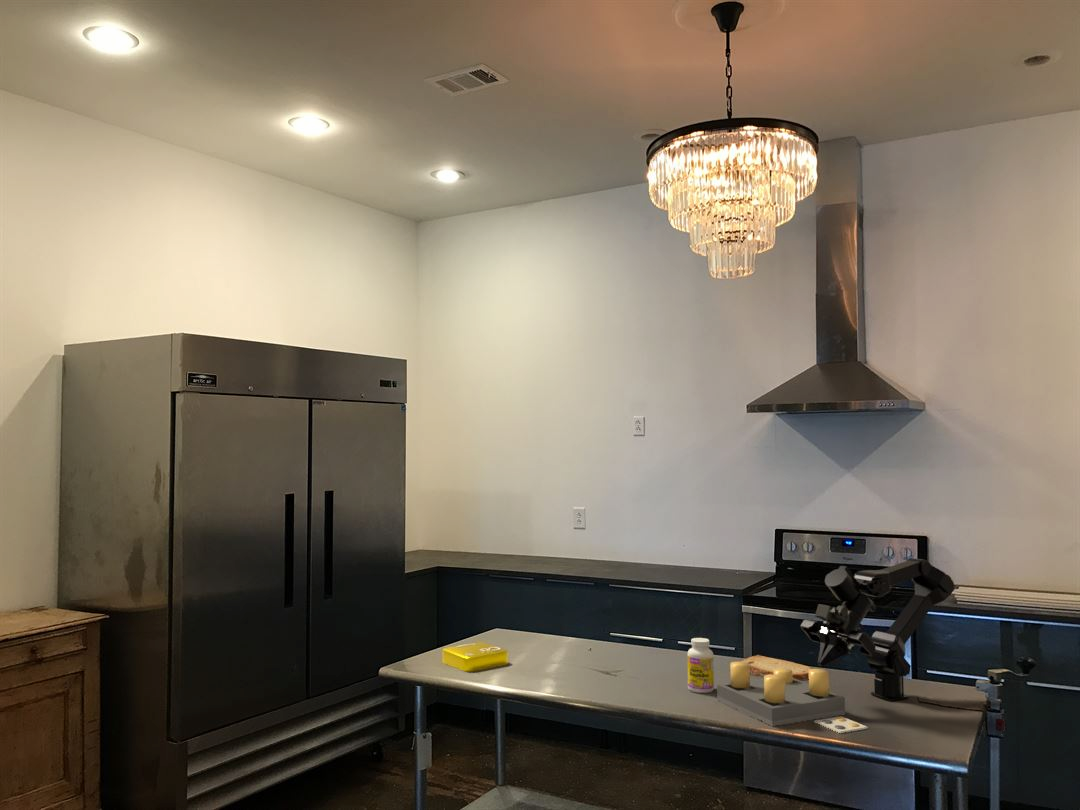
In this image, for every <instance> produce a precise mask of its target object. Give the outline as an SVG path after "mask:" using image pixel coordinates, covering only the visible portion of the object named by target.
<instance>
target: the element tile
mask: <svg viewBox="0 0 1080 810" xmlns="http://www.w3.org/2000/svg"><path fill="white" fill-rule="evenodd" d="M508 660H509V652H508V649H505V648H504V647H503V648H502V647H499V646H496V645H494V644H489V643H487V642H484V641H478V642H473V643H466V644H465V643H464V644H461V645H454V646H449V647H448V646H447V647H445V648H444V647H443V649H442V664H444V665H448V666H449V665H450V667H452V668H454V667H455V668H454V669H457V670H461V671H463V672H466V673H467V672H468V673H469V672H475V671H481V670H486V669H493V668H497V667H502V665H503V666H506V665H508V664H509V663H508ZM496 666H497V667H496Z"/></svg>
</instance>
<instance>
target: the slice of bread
mask: <svg viewBox="0 0 1080 810" xmlns="http://www.w3.org/2000/svg"><path fill="white" fill-rule="evenodd" d="M740 662H746V663H749V664H750V676H754V675H755V676H754V677H758V676H761V677H760V678H764V676H765V675H773V670H774V669H777V668H784V669H789V670H792V674H793V678H794V679H797V680H800V681H802V680H801V679H809V669H812V667H810V666H807V665H804V664H800V663H796V662H795V661H794V662H793V661H788V660H785V659H784V660H783V659H779V658H773V657H768V656H765V655H764V656H763V655H760V654H757V655H753V656H749V657H747V658H744V659H742V660H741V661H740Z"/></svg>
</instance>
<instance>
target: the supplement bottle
mask: <svg viewBox="0 0 1080 810" xmlns="http://www.w3.org/2000/svg"><path fill="white" fill-rule="evenodd" d="M690 644H691V648H689V649H688V651H687V689H688V690H689V691H691V692H693V693H699V694H700V693H701V694H707V693H712V692H713V690H714V688H715V685H714V682H715V681H714V677H715V676H714V665H715V664H714V653H713V651H712V649H710V648H709V647H710V640H709V638H705V637H704V638H703V637H693V638H691V641H690Z"/></svg>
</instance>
